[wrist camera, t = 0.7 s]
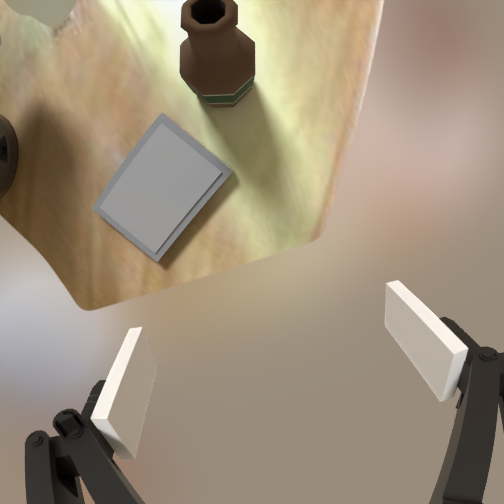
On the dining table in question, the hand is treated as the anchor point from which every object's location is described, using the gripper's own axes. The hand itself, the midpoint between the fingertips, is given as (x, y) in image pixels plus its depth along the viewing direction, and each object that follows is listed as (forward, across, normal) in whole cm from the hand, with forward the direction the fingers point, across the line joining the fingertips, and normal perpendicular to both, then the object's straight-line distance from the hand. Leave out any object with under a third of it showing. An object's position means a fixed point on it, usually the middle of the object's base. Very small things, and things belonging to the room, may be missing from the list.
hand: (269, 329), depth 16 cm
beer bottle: (+29, 0, +18) cm, 34 cm away
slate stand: (+29, -10, +5) cm, 31 cm away
